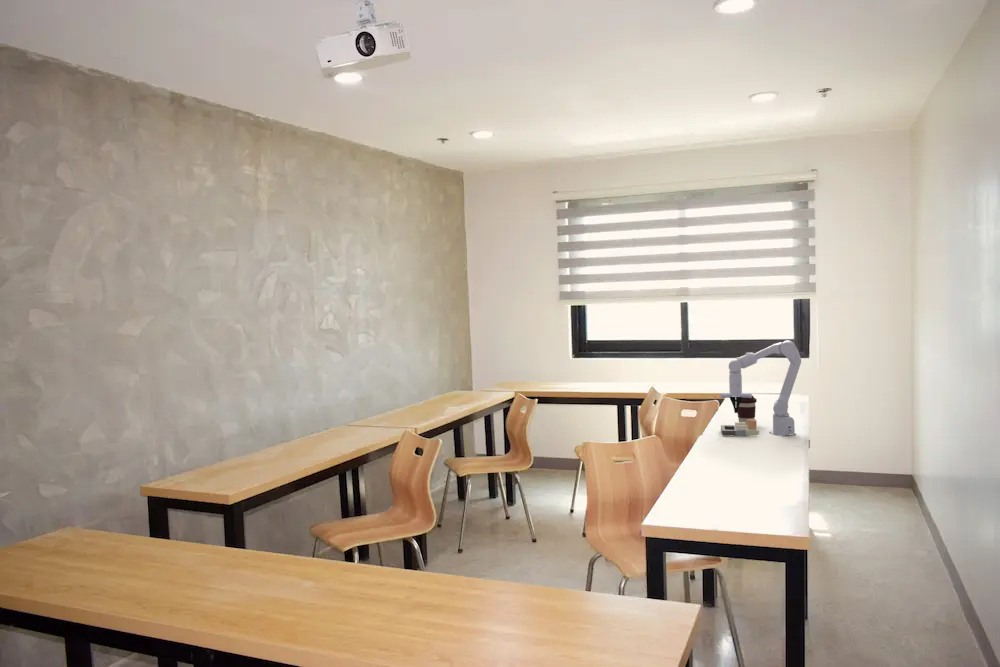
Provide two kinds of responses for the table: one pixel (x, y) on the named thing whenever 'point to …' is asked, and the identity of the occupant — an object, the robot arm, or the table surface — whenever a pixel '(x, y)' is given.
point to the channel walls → (740, 425)
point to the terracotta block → (751, 424)
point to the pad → (752, 431)
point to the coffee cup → (747, 409)
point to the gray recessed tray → (732, 430)
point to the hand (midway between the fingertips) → (736, 412)
